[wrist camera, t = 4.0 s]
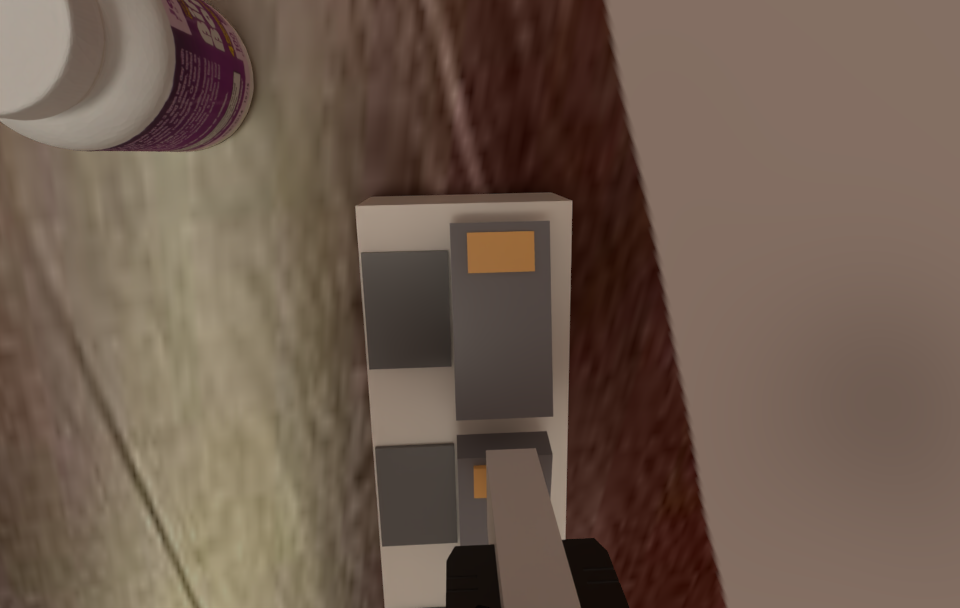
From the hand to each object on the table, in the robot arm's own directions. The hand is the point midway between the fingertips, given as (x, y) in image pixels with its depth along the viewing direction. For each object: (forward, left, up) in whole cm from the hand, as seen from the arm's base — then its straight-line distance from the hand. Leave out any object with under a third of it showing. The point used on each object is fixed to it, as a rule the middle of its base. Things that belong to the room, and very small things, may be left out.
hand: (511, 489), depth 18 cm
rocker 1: (0, +5, -2) cm, 5 cm away
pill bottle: (-11, +13, -8) cm, 19 cm away
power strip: (-1, -2, -8) cm, 8 cm away
